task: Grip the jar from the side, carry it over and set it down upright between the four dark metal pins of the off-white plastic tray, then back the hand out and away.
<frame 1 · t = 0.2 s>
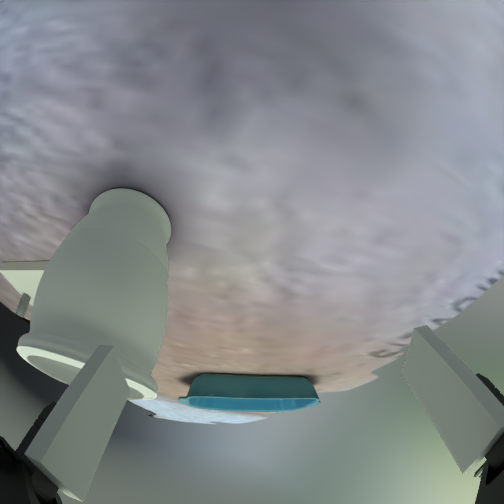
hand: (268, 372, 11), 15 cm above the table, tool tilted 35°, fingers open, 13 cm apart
jar: (130, 221, 24), on the table
casserole dish: (250, 381, 67), on the table
tray: (72, 300, 35), on the table
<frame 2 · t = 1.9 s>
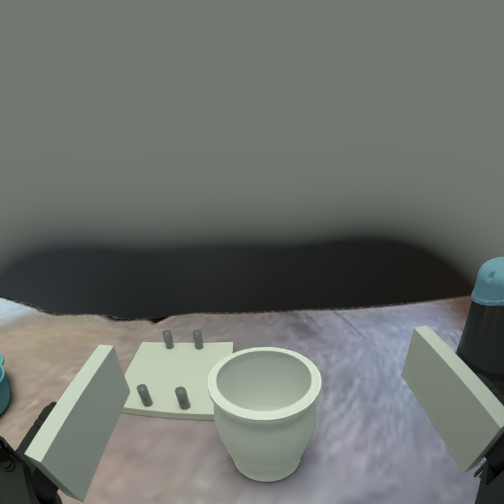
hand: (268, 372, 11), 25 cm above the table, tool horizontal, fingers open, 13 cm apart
jar: (266, 457, 28), on the table
tray: (177, 379, 43), on the table
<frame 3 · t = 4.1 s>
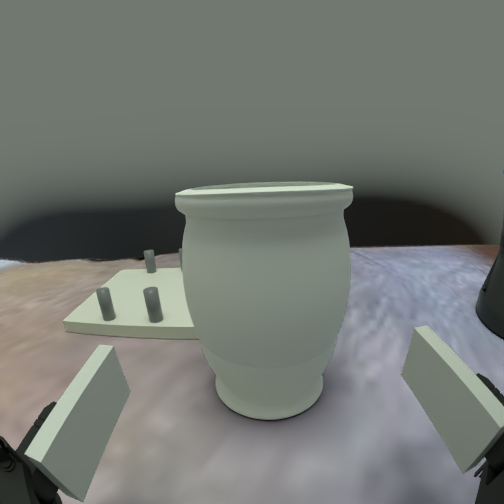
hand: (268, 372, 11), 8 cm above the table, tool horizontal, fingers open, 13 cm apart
jar: (269, 385, 20), on the table
tray: (155, 300, 36), on the table
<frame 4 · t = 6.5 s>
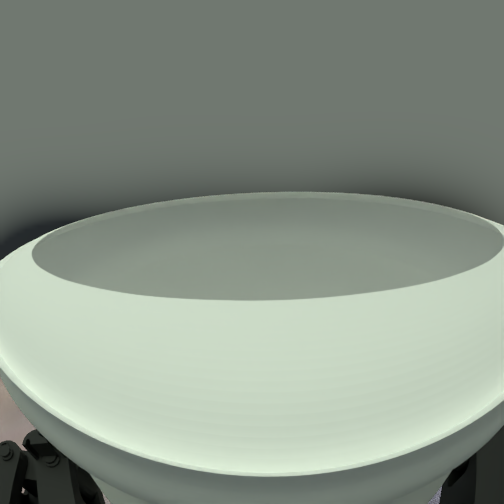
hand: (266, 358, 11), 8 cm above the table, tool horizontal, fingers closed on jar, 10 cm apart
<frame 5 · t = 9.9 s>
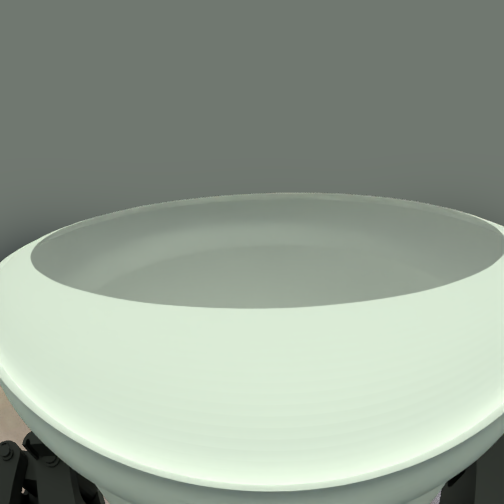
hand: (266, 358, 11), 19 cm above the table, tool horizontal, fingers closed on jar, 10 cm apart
when the fingers open (10 cm above the table, at t = 13.2 s): jar stays where it is, resting on tray.
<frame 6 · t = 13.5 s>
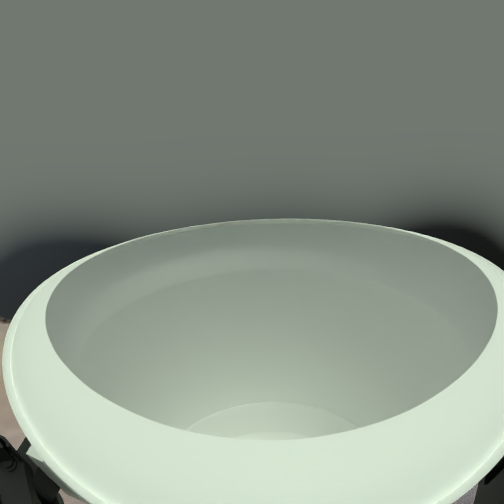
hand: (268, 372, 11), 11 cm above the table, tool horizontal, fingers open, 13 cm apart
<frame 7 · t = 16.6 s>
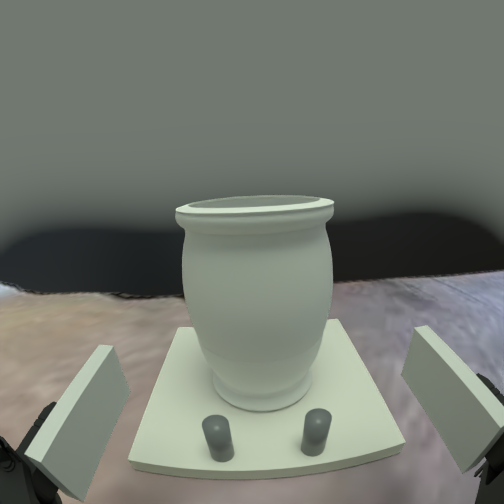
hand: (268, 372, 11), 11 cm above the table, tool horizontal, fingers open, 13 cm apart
jar: (262, 380, 22), point 1 cm above the table, touching tray
tray: (262, 390, 23), on the table
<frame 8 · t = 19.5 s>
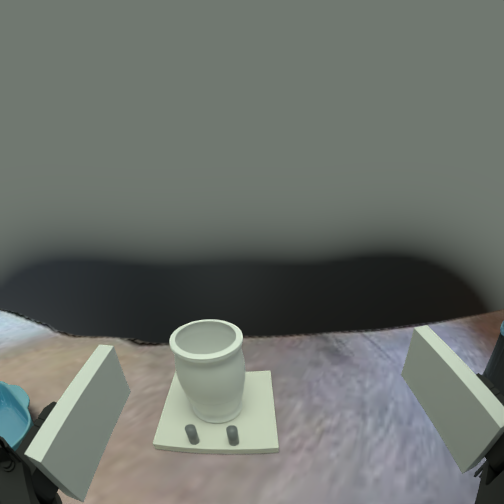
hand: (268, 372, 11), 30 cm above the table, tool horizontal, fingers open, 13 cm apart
jar: (217, 407, 41), point 1 cm above the table, touching tray
tray: (218, 411, 42), on the table
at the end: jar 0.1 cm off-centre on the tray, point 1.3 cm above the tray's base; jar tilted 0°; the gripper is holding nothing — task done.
